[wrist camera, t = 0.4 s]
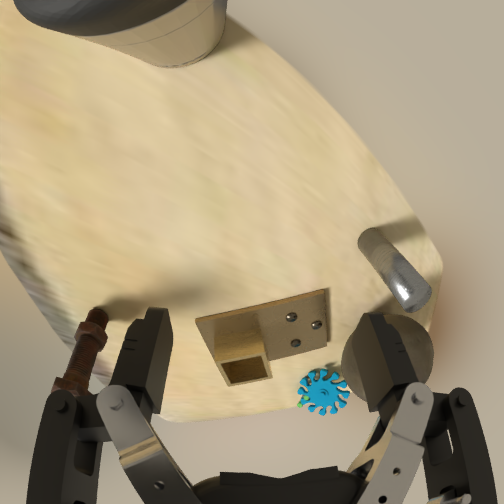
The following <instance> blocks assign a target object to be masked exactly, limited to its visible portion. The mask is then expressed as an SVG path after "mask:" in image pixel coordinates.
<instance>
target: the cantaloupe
mask: <svg viewBox="0 0 504 504" xmlns="http://www.w3.org/2000/svg"><path fill="white" fill-rule="evenodd" d="M383 316H384V318H385V320H386V322H387V324H392V325H393V326H394V327H395V329H396V330H397V331H398V332H399V334H400V336H401V338H402V341H403V344H404V346H405V348H406V352H407V353H408V355H409V358H410V360H411V363H412V365H413V368H414V370H415V373H416V376H417V378H418V380H419V382H420V383H423V384H425V383H426V381H427V380H428V378H429V376H430V373H431V370H432V366H433V356H434V350H433V344H432V341H431V338H430V336H429V334H428V332H427V331H426V330H425V328H424V327H423V326H421V325H420V324H419V323H417V322H416V321H414V320H413V319H411V318H408V317H405V316H403V315H394V314H387V315H383ZM354 332H355V331H354ZM354 332H353V333H352V334H351V336H350V337H349V339H348V340H347V342H346V345H345V347H344V350H343V354H342V361H341V367H342V373H343V376H344V378H345V381H346V383H347V384H348V386H349V388H350V389H351V390H352V391H353V392H354V393H355V394H356V395H357V396H358V397H360V398H361V399H362V400H364V401H366V402H367V400H366V396H365V392H364V388H363V385H362V381H361V377H360V373H359V370H358V366H357V363H356V359H355V356H354V352H353V349H352V338H353V335H354Z"/></svg>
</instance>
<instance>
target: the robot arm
mask: <svg viewBox="0 0 504 504" xmlns="http://www.w3.org/2000/svg"><path fill="white" fill-rule="evenodd" d="M13 1H14V4H15V6H16V8H17V9H18V11H19V12H20V13H21V14H22V15H23V16H24V17H25V18H26V19H27V20H29V21H31V22H32V23H34V24H36V25H38V26H41V27H44V28H47V29H50V30H54V31H57V32H61V33H65V34H69V35H72V36H75V37H78V38H82V39H85V40H88V41H91V42H94V43H98V44H101V45H103V46H106V47H109V48H112V49H115V50H117V51H120V52H122V53H125V54H128V55H130V56H133V57H135V58H138V59H140V60H142V61H145V62H147V63H150V64H152V65H155V66H158V67H164V68H178V67H183V66H187V65H190V64H193V63H195V62H197V61H199V60H201V59H202V58H204V57H205V56H207V55H208V54H209V53H210V52H211V51H212V50H213V49H214V48H215V47H216V45H217V44H218V43H219V41H220V39H221V37H222V35H223V31H224V26H225V18H226V8H227V0H13ZM124 339H125V340H124V341H123V344H122V349H121V350H120V353H119V356H118V360H117V363H116V366H115V369H114V372H113V376H112V379H111V382H110V383H109V385H108V386H107V387H105V388H104V389H102V390H101V391H100V393H98V394H95V395H86V396H74V395H73V394H72V393H71V392H69V391H67V390H64V389H59V390H56V391H54V392H52V393H51V394H50V395H49V397H48V398H47V401H46V404H45V407H44V411H43V415H42V419H41V422H40V426H39V430H38V435H37V439H36V444H35V448H34V453H33V458H32V464H31V470H30V476H29V483H28V491H27V500H26V504H96V501H97V488H98V478H99V468H100V460H101V453H102V446H103V442H108V441H113V443H114V445H115V447H116V449H117V451H118V453H119V456H120V458H119V460H120V463H121V465H122V467H123V469H124V471H125V473H126V475H127V476H128V478H129V480H130V481H131V483H132V485H133V486H134V488H135V489H136V491H137V493H138V494H139V496H140V497H141V499H142V500H143V502H144V503H145V504H402V502H403V500H404V498H405V496H406V494H407V492H408V490H409V488H410V485H411V483H412V481H413V478H414V476H415V474H416V472H417V469H418V467H419V464H420V461H421V459H423V464H424V470H425V477H426V483H427V489H428V498H429V501H428V502H427V504H498V503H497V495H496V489H495V483H494V477H493V472H492V467H491V462H490V457H489V453H488V449H487V445H486V442H485V437H484V434H483V430H482V427H481V424H480V420H479V417H478V414H477V411H476V407H475V405H474V402H473V399H472V397H471V394H470V393H469V392H468V391H467V390H466V389H464V388H455V389H453V390H452V391H451V392H450V393H449V394H443V393H434V392H432V391H431V390H430V388H429V387H428V386H426V385H425V384H423V383H420V382H419V380H418V378H417V376H416V373H415V370H414V368H413V365H412V363H411V360H410V358H409V355H408V353H407V352H406V348H405V346H404V344H403V341H402V338H401V336H400V334H399V332H398V331H397V330H396V329H395V327H394V326H393V325H392V324H387V322H386V320H385V318H384V316H383V314H382V313H381V312H374V313H364V314H363V315H362V317H361V319H360V322H359V324H358V326H357V328H356V330H355V332H354V335H353V338H352V349H353V352H354V356H355V359H356V363H357V366H358V370H359V373H360V377H361V381H362V385H363V388H364V392H365V396H366V400H367V404H368V408H369V412H375V411H379V414H380V416H379V417H378V419H377V421H376V423H375V425H374V427H373V429H372V431H371V433H370V435H369V437H368V439H367V441H366V443H365V445H364V447H363V449H362V451H361V452H360V454H359V455H358V456H357V458H356V459H355V460H354V461H353V462H352V464H351V465H350V467H349V468H348V470H347V472H344V471H338V467H337V466H333V467H326V468H319V469H310V470H307V471H304V472H301V473H298V474H295V475H292V476H289V477H285V478H274V477H268V476H263V475H258V474H253V473H234V472H220V476H216V477H212V478H208V479H206V480H203V481H201V482H199V483H197V484H195V485H194V486H193V485H192V483H191V482H190V481H189V480H188V478H187V477H186V476H185V474H184V473H183V472H182V470H181V469H180V468H179V466H178V465H177V463H176V462H175V461H174V459H173V458H172V457H171V455H170V454H169V452H168V451H167V449H166V448H165V446H164V444H163V443H162V441H161V440H160V438H159V437H158V435H157V434H156V432H155V430H154V428H153V427H152V425H151V424H150V422H151V416H152V413H154V414H160V411H161V405H162V399H163V393H164V388H165V382H166V377H167V372H168V366H169V361H170V356H171V351H172V346H173V331H172V326H171V322H170V317H169V312H168V309H167V308H157V307H149V308H148V309H147V312H146V315H145V318H144V319H136V320H135V321H134V322H133V323H132V324H131V325H130V326H129V327H128V330H127V333H126V335H125V338H124ZM448 429H449V433H450V437H451V441H452V446H453V454H452V449H451V445H450V441H449V436H448V432H447V430H448Z"/></svg>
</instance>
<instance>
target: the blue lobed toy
mask: <svg viewBox="0 0 504 504" xmlns="http://www.w3.org/2000/svg"><path fill="white" fill-rule="evenodd" d="M327 373H328V370H326V369H321V371H320V379H319V380H315V378H314V377H315V375H316V372H315V371H311V372H309V373H308V376H309V377H310V379H311V381H312V384H311V385H309V384H308V379H307V378H306V377H305V378H303V379H302V380H301V381H300V384H302V385H304V386H305V387H306V388H307V389H308V392H307V391H305V389H304V388H303V387H300V388H299V390H298V394H300V395H301V394H303V395H302V398H301V400H300V401H299V403H298V404H297V406H298V407H302V406H303V405H304V404H306V403H315V405H310V406H309V407H308V410H310V412H313V411H314V410H315V408H317V407H319V406H322V407H323V409H321V410H320V411H319V414H320V415H325V414H326V407H327V406H329V405H330V406H332V409H331V411H330V413H331V414H335V413H337V411H338V409H337V408H336V406H335V401H338V402H339V407H340V408H343V407H345V405H346V404H347V402H346V401H344V400H342V399H341V398H340V397H339V395H338V394H341V395H342V396H343V397H344V398H348V396H349V394H350V391H342V390H340V389H338V388H337V386H340V387H342V388H346V387H347V383H346V381H345V380H343V381H341V382H339V383H333V382H332V381H331V380H337V379H338V378H339V376H340V375H339V374H338V373H337V372H334V373H333V374H332V376H331V377H330V378H328V379H324V378H323V376H325V375H326V374H327Z"/></svg>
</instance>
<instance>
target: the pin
mask: <svg viewBox="0 0 504 504" xmlns="http://www.w3.org/2000/svg"><path fill="white" fill-rule="evenodd" d="M358 248H359V249H360V251H361V252H362V253H363V254H364V256H365V257H366V258H367V260H368V261H369V262H370V264H371V265H372V266H373V267H374V269H375V270H376V271H377V273H378V274H379V275H380V277H381V278H382V279H383V281H384V282H385V284H386V285H387V286H388V288H389V289H390V290H391V292H392V293H393V295H394V296H395V297H396V299H397V300H398V302H399V303H400V305H401V306H402V307H403V309H404V310H405V311H406V312H408V313H411V312H415V311H417V310H419V309H420V308H422V307H423V306H424V305H425V304H426V303H427V302H428V300H429V298H430V296H431V293H432V289H431V287H430V286H429V285H428V283H427V282H426V281H425V280H424V279H423V278H422V276H421V275H420V274H419V273H418V272H417V271H416V270H415V269H414V267H413V266H412V265H411V264H410V263H409V262H408V261H407V260H406V259H405V257H404V256H403V255H402V254H401V253H400V252H399V251H398V250H397V249H396V248H395V247H394V246H393V245H392V244H391V243H390V241H389V240H388V239H387V238H386V237H385V236H384V235H383V234H382V233H381V232H380V231H379V230H378V229H375V228H370V229H367V230H365V231H364V232H363V233H362V234H361V235H360V237H359V239H358Z"/></svg>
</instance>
